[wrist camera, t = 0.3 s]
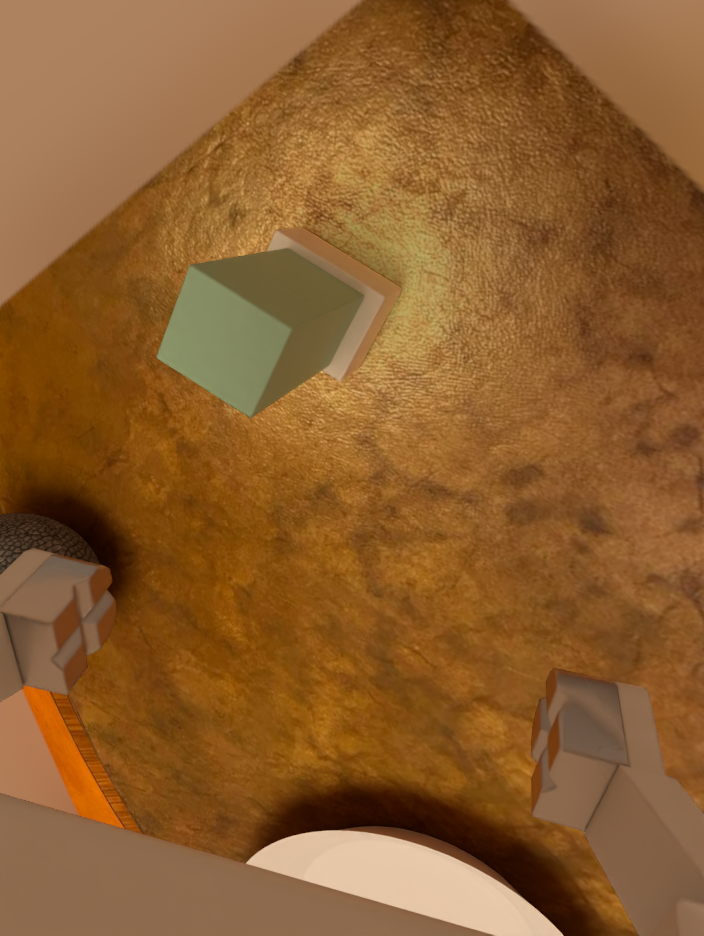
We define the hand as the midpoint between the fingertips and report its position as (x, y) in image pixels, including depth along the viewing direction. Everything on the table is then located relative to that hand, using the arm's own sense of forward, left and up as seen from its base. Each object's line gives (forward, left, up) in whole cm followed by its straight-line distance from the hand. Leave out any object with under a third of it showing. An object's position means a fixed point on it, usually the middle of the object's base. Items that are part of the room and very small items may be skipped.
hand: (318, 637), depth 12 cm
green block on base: (+1, -8, -21) cm, 23 cm away
